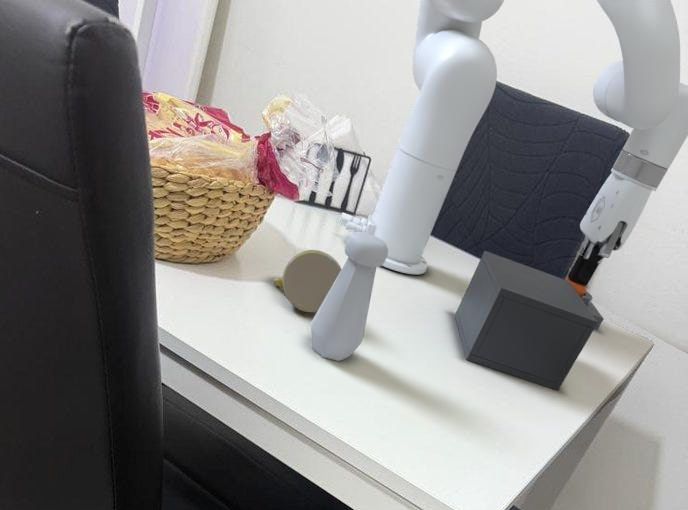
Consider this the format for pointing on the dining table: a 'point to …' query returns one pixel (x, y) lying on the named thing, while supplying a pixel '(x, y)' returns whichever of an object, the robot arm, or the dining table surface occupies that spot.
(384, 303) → the dining table surface
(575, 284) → the button
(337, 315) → the salt shaker
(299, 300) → the mug
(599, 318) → the panel
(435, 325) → the dining table surface
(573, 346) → the box
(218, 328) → the dining table surface
